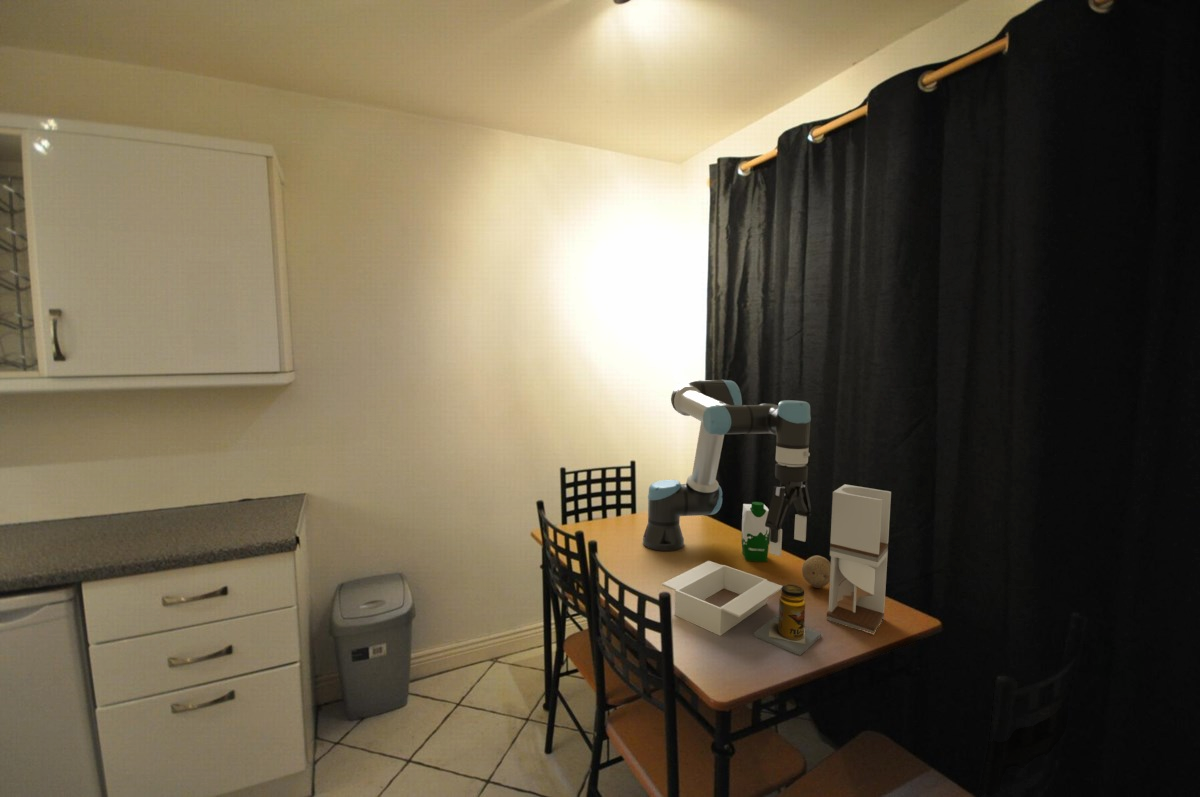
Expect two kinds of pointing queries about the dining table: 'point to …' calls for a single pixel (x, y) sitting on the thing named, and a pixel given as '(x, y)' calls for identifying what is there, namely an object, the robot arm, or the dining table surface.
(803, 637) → the condiment
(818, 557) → the natural sponge
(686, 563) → the dining table surface
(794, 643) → the slate mat
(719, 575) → the carton
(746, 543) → the milk carton
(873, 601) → the white cereal dispenser
